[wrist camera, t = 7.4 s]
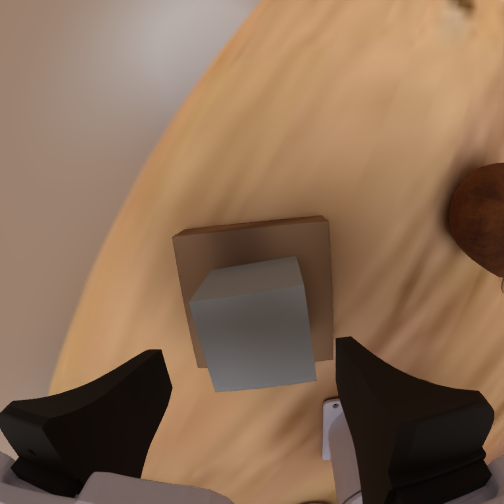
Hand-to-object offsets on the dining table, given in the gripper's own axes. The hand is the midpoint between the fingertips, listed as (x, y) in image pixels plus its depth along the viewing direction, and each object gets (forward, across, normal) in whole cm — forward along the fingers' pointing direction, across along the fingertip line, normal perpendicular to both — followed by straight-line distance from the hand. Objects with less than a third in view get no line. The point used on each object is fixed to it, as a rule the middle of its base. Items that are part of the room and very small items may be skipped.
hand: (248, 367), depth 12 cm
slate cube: (+7, 0, 0) cm, 7 cm away
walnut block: (+10, 0, 0) cm, 10 cm away
